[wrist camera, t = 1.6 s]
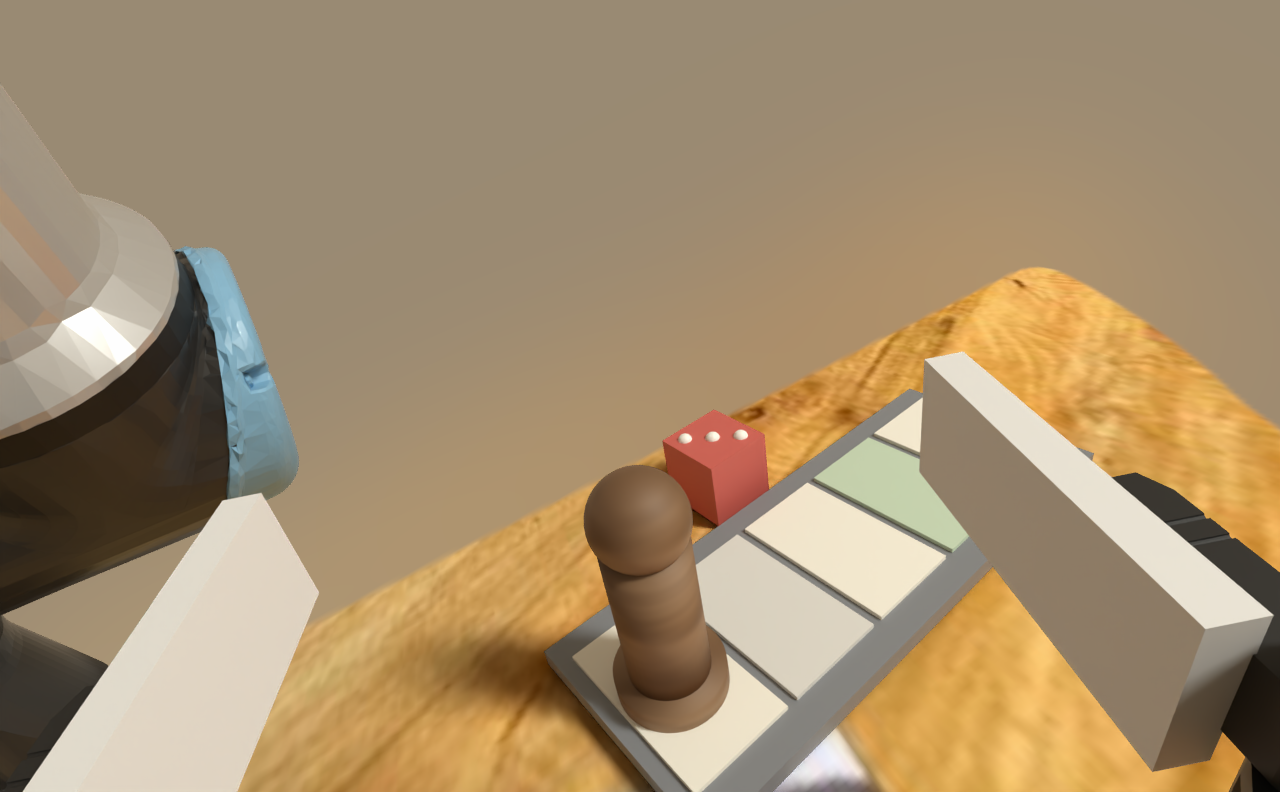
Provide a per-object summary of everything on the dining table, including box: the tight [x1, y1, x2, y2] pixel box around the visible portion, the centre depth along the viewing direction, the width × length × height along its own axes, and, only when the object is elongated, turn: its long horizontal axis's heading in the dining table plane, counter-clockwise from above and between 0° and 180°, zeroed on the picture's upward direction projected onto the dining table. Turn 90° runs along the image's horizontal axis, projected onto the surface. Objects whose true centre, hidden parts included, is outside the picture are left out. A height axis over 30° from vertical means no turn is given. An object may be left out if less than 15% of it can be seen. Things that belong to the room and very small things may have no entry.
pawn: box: [584, 465, 730, 733], centre depth 28 cm, size 5×5×12 cm
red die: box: [663, 410, 769, 526], centre depth 42 cm, size 4×4×5 cm
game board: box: [544, 389, 1094, 792], centre depth 37 cm, size 12×31×1 cm, turn 129°
